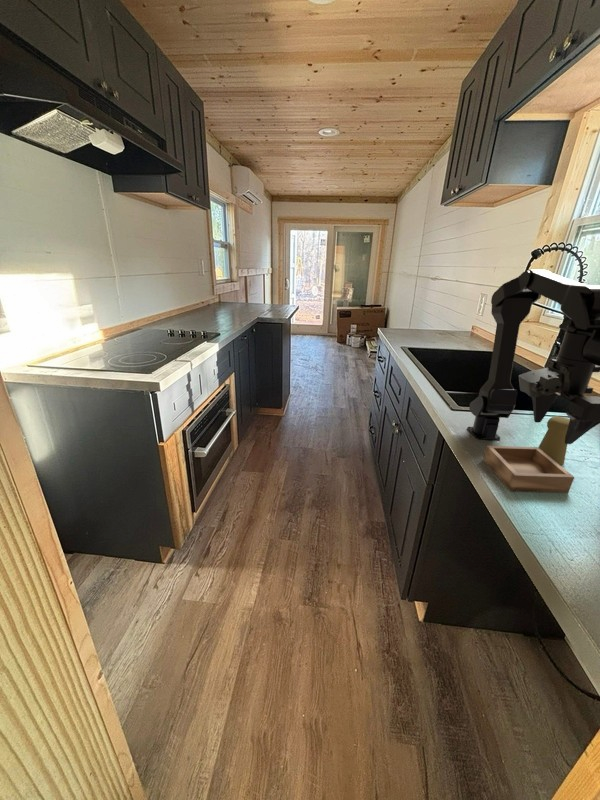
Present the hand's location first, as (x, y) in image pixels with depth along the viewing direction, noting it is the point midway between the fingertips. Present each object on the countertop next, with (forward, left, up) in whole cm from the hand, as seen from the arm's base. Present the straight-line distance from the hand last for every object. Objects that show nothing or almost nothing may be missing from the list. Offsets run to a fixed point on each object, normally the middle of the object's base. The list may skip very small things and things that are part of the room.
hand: (551, 432), depth 66 cm
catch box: (-4, 0, -13) cm, 13 cm away
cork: (-11, +10, -13) cm, 20 cm away
